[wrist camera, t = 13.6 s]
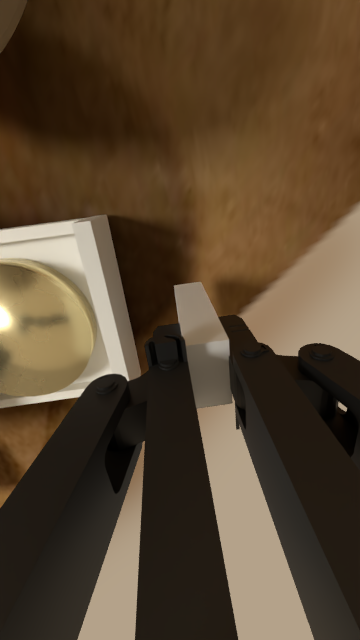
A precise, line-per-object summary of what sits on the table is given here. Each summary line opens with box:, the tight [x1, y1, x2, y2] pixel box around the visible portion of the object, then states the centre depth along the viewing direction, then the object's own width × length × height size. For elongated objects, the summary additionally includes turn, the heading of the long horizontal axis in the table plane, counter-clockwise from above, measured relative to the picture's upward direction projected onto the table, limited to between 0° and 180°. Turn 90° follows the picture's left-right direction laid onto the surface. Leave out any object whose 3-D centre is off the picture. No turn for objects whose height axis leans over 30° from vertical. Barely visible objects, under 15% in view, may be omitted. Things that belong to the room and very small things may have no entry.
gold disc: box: [0, 258, 97, 397], centre depth 15 cm, size 8×8×2 cm
